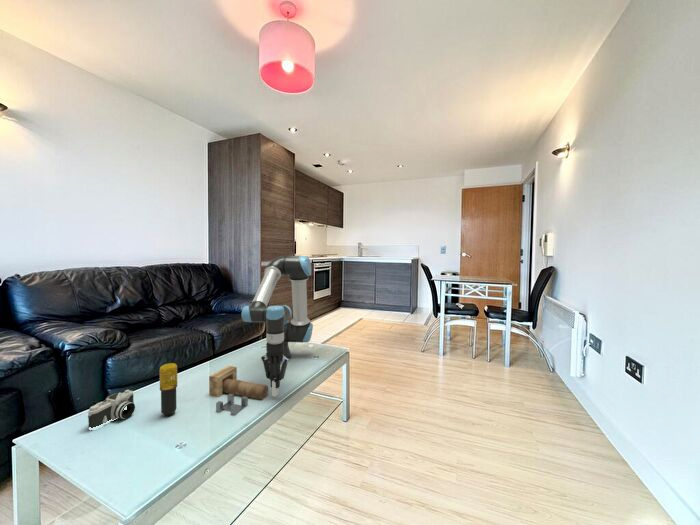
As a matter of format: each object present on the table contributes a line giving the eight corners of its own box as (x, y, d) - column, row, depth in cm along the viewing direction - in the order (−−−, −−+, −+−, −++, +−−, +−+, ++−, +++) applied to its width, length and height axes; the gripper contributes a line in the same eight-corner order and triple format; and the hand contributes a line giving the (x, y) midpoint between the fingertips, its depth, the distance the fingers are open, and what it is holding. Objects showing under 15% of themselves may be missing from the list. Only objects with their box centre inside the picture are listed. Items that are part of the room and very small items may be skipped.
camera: (102, 434, 98) (101, 407, 98) (83, 431, 100) (82, 404, 100) (144, 409, 114) (143, 385, 114) (127, 407, 116) (126, 383, 115)
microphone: (151, 408, 114) (150, 361, 114) (181, 411, 113) (180, 362, 112) (139, 417, 109) (138, 366, 108) (170, 419, 107) (169, 368, 107)
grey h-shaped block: (230, 402, 120) (230, 393, 120) (247, 406, 117) (247, 396, 117) (216, 412, 112) (216, 403, 112) (234, 416, 110) (234, 406, 110)
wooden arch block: (209, 395, 126) (209, 375, 125) (228, 383, 137) (228, 365, 137) (218, 397, 124) (218, 377, 124) (236, 385, 136) (236, 367, 135)
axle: (216, 394, 128) (214, 382, 127) (225, 386, 134) (224, 375, 133) (261, 402, 121) (259, 390, 120) (268, 394, 127) (267, 382, 126)
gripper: (257, 342, 120) (257, 396, 121) (284, 346, 116) (283, 401, 117) (267, 337, 127) (267, 388, 128) (292, 340, 123) (292, 392, 124)
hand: (275, 394), depth 123 cm, fingers closed
